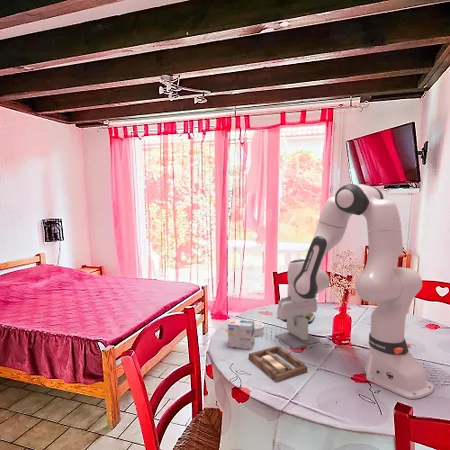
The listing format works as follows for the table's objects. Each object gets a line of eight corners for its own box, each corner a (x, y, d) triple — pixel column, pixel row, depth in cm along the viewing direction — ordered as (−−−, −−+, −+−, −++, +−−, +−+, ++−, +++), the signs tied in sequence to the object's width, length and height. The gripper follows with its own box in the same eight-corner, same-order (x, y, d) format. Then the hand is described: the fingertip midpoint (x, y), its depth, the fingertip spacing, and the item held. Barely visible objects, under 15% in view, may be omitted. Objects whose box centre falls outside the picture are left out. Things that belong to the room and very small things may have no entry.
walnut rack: (307, 371, 126) (307, 365, 126) (276, 382, 119) (276, 375, 119) (277, 350, 143) (277, 344, 142) (248, 358, 136) (248, 352, 136)
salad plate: (287, 308, 193) (287, 301, 192) (318, 314, 184) (319, 306, 183) (274, 320, 176) (274, 312, 175) (308, 327, 167) (308, 318, 167)
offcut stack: (285, 376, 124) (285, 367, 123) (278, 378, 122) (279, 369, 122) (268, 362, 133) (268, 354, 133) (262, 364, 132) (262, 356, 132)
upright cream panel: (307, 339, 148) (308, 319, 147) (303, 340, 147) (303, 320, 146) (290, 329, 159) (291, 310, 158) (286, 330, 158) (286, 311, 157)
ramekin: (267, 331, 162) (267, 322, 162) (260, 338, 155) (260, 329, 154) (250, 328, 166) (250, 319, 166) (242, 335, 159) (242, 326, 158)
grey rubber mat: (319, 342, 150) (319, 340, 150) (294, 349, 144) (294, 347, 144) (299, 330, 162) (299, 329, 162) (275, 336, 156) (275, 335, 156)
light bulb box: (255, 343, 150) (254, 319, 149) (252, 350, 143) (251, 325, 142) (231, 340, 153) (231, 317, 151) (227, 347, 146) (227, 323, 145)
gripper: (282, 300, 143) (282, 332, 145) (319, 293, 153) (319, 322, 154) (274, 296, 149) (274, 326, 151) (310, 289, 158) (309, 318, 160)
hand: (297, 324), depth 152 cm, fingers closed on upright cream panel, 2 cm apart
